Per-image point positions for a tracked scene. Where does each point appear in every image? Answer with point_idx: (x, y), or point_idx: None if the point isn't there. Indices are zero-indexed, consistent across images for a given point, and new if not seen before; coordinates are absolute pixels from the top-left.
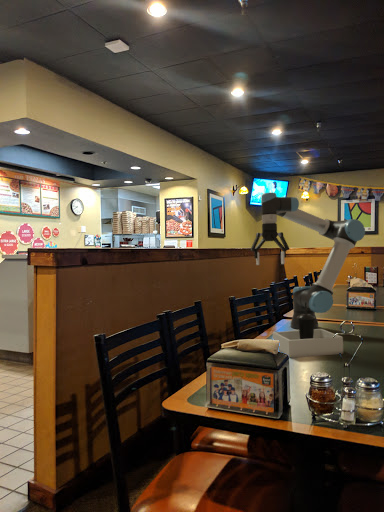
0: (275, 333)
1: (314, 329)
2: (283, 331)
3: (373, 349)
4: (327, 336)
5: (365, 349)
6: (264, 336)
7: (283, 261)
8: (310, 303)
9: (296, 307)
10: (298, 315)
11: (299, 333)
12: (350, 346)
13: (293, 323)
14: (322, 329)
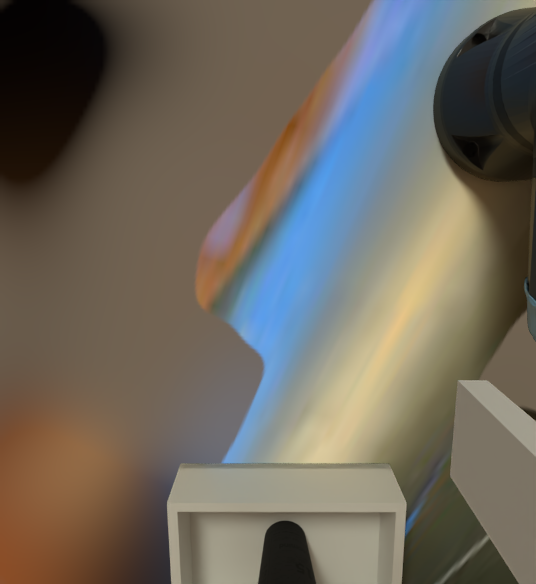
0: (169, 531)
1: (369, 505)
2: (218, 504)
3: (514, 577)
4: (388, 549)
5: (488, 570)
6: (213, 264)
7: (477, 510)
8: (533, 316)
9: (514, 99)
10: (493, 125)
11: (259, 576)
12: (467, 522)
13: (446, 114)
14: (402, 515)
